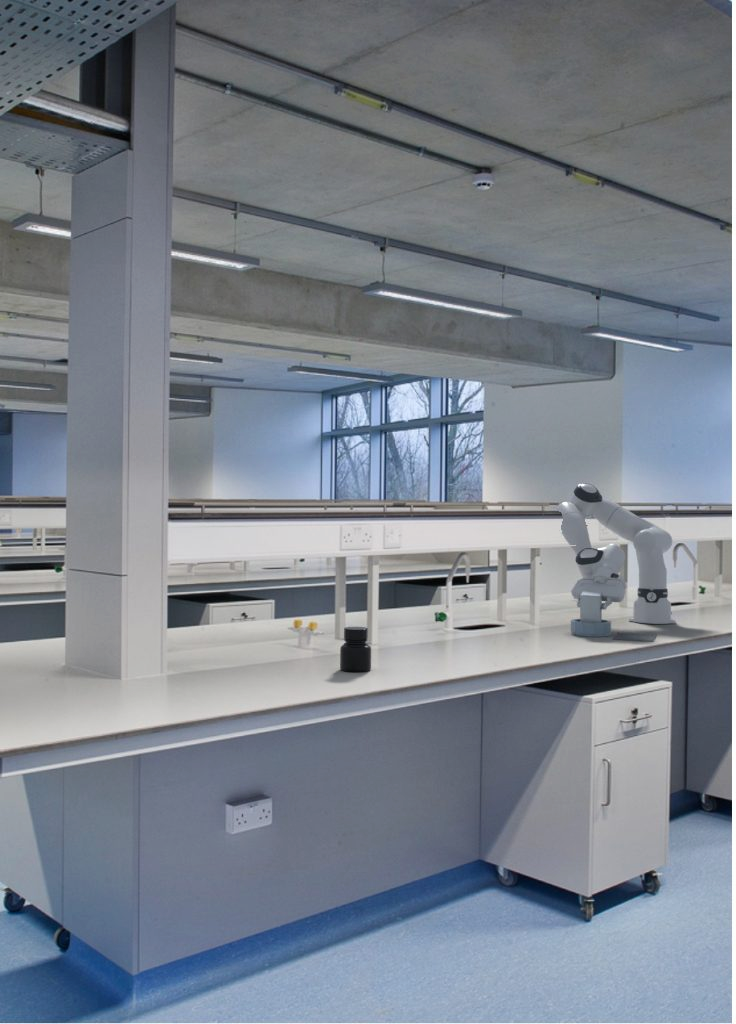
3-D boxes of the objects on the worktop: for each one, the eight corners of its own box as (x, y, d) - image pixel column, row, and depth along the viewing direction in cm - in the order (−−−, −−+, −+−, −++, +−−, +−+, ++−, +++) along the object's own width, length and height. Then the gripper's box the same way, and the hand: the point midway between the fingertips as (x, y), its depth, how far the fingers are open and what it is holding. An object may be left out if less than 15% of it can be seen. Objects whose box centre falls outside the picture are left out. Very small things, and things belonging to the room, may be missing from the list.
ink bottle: (373, 667, 271) (373, 626, 271) (371, 673, 263) (371, 630, 263) (340, 667, 272) (340, 625, 272) (337, 672, 263) (337, 629, 263)
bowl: (574, 630, 359) (574, 617, 359) (612, 633, 354) (612, 619, 354) (568, 635, 345) (568, 622, 345) (608, 637, 340) (608, 624, 340)
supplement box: (600, 629, 345) (600, 595, 343) (579, 628, 347) (579, 595, 345) (602, 624, 352) (602, 591, 350) (582, 623, 354) (582, 590, 352)
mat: (618, 632, 355) (618, 632, 355) (656, 634, 350) (656, 634, 350) (612, 639, 336) (612, 638, 336) (653, 641, 331) (653, 641, 331)
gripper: (576, 572, 361) (563, 599, 354) (625, 575, 348) (613, 603, 341) (581, 583, 365) (569, 610, 357) (630, 587, 351) (618, 615, 344)
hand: (590, 607), depth 349 cm, fingers closed on supplement box, 8 cm apart
